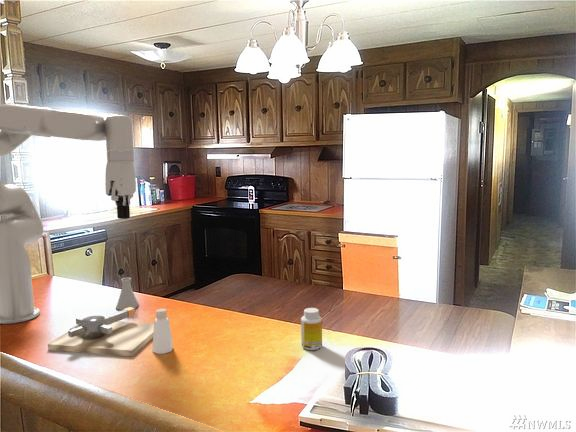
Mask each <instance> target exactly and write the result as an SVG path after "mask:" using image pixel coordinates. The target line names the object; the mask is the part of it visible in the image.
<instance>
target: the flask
mask: <svg viewBox="0 0 576 432" xmlns="http://www.w3.org/2000/svg"><path fill="white" fill-rule="evenodd" d="M131 280H132V278H131V277H123V278H121V279H120V281H121V289H120V293H119V297H118V300H117V303H116V306H115V310H118V311H122V310H123V309H126V308H128V307H132V308H135V309H137V308H138V307H139V305H140V304H139V300H137V298H136V296H135V293H134V291H133V289H132V284H131Z"/></svg>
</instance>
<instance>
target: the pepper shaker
mask: <svg viewBox="0 0 576 432" xmlns="http://www.w3.org/2000/svg"><path fill="white" fill-rule="evenodd" d="M167 312H168V311H167V309H166V308H158V309H156V310H155V320H154V322H153V324H154V333H153V338H152V352H153V353H155V354H156V355H157V354H159V355H164V354H167V353H168V354H169V352H172V351H173V348H174V346H173V345H174V343H173V337H172V331H171V325H170V319H169V318H168V317H167Z"/></svg>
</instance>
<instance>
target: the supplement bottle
mask: <svg viewBox="0 0 576 432" xmlns="http://www.w3.org/2000/svg"><path fill="white" fill-rule="evenodd" d="M319 311H320V310H319V309H318V308H316V307H308V308H305V309H304V310H303V316H301V318H300V327H301V328H300V330H301V335H300V336H301V347H302V349H304V350H307V351H317V350H320V349H321V348H322V347H323V317H321V315H320V312H319ZM319 348H320V349H319ZM316 349H317V350H316Z"/></svg>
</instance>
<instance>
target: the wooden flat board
mask: <svg viewBox="0 0 576 432" xmlns="http://www.w3.org/2000/svg"><path fill="white" fill-rule="evenodd" d="M80 326H81V325H78V324H76V325H74V326H72V327H71V328H69V330H71V329H74V328H77V327H80ZM107 326H110V327H112V333H110V334H105V335H104V336H102V337H100V338H96V339H84V338H83V337H82V334H80V335H77V336H75V337H72V338H71V337H69V336H68V331H67V332H65V333H63V334H62V335H60V336H59V337H57V338H55V339H53V340H52V341H50V342H49V343H47V350H48V351H55V352H56V351H59V352H69V353H70V352H71V353H72V352H73V353H85V354H96V355H97V354H98V355H110V356H122V357H123V356H124V357H133V356H135V355H136V354H137V353H138V352H139V351H140V350H141V349H143V348H144V347H145V346H146V345H147V344H148V343H149V342H151V341H152V340H153V333H154V322H153V323H151V322H150V323H149V322H138V321H137V322H135V321H122V320H120V321H117V322H115V323H112V324H109V325H107Z"/></svg>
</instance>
